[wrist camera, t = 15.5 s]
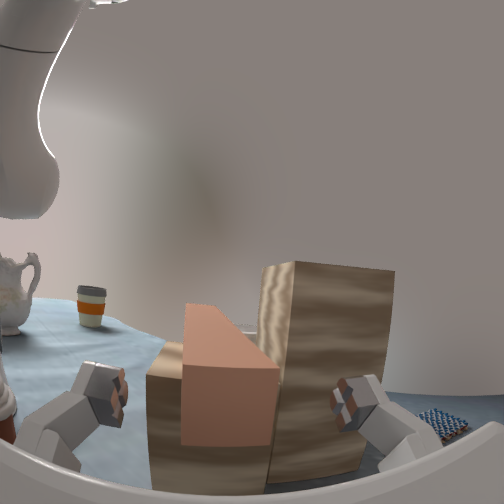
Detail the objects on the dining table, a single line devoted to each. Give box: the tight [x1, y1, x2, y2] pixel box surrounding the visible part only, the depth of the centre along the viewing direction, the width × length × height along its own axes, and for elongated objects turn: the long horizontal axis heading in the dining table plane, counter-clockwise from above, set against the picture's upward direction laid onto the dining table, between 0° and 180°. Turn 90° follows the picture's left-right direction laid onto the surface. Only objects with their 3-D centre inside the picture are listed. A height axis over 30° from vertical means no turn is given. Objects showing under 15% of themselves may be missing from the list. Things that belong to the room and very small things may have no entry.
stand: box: [255, 261, 395, 484], centre depth 34 cm, size 16×12×26 cm
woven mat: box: [415, 408, 468, 443], centre depth 33 cm, size 10×11×2 cm
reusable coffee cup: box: [77, 285, 106, 327], centre depth 96 cm, size 12×12×15 cm
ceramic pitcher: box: [0, 253, 41, 336], centre depth 57 cm, size 22×20×25 cm
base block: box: [146, 341, 281, 496], centre depth 24 cm, size 12×10×16 cm
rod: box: [181, 303, 280, 447], centre depth 24 cm, size 28×4×4 cm, turn 13°
